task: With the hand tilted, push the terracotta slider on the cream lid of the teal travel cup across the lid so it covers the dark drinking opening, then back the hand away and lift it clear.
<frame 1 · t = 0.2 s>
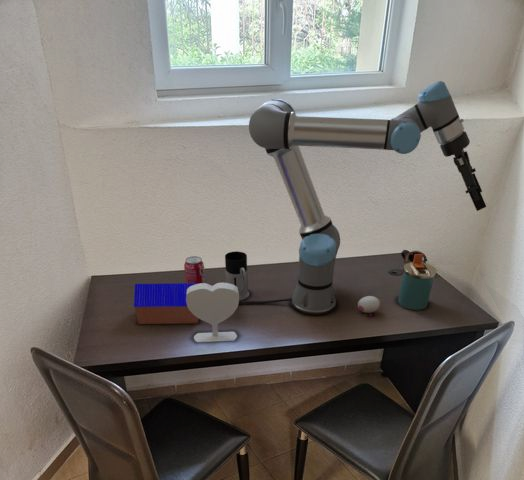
hand: (479, 200, 142), 35 cm above the table, tool tilted 35°, fingers open, 13 cm apart
heart sculpture: (215, 337, 145), on the table
slider: (419, 261, 155), point 15 cm above the table, slide at 0.0 cm
pottery mug: (411, 268, 185), on the table
soda can: (196, 290, 170), on the table
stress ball: (366, 311, 158), on the table
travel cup: (412, 302, 162), on the table
grey coffee mug: (239, 298, 165), on the table
house: (170, 315, 156), on the table
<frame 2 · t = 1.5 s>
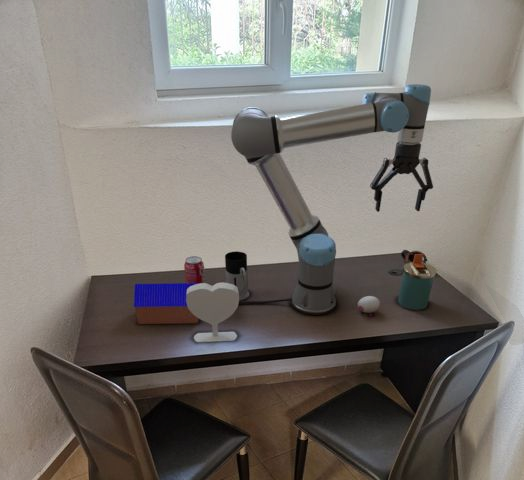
hand: (397, 210, 155), 29 cm above the table, tool pointing down, fingers open, 13 cm apart
nothing on the table moved.
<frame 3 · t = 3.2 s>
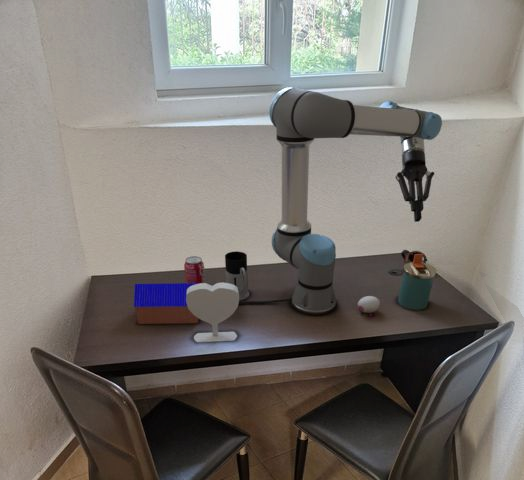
hand: (418, 219, 155), 26 cm above the table, tool tilted 45°, fingers closed
nothing on the table moved.
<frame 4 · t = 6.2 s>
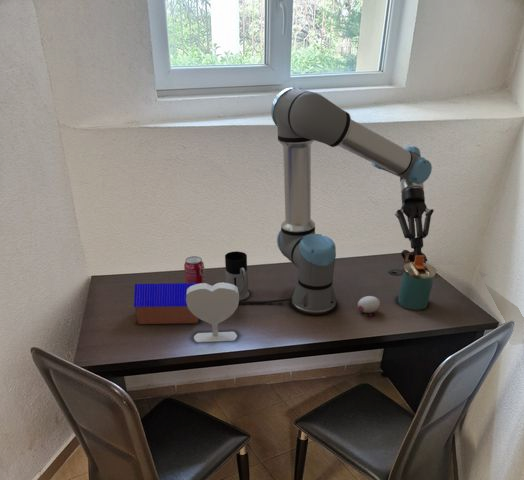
hand: (418, 257, 156), 15 cm above the table, tool tilted 45°, fingers closed
slider: (420, 262, 154), point 15 cm above the table, slide at 1.0 cm, touching gripper
everything else where it was.
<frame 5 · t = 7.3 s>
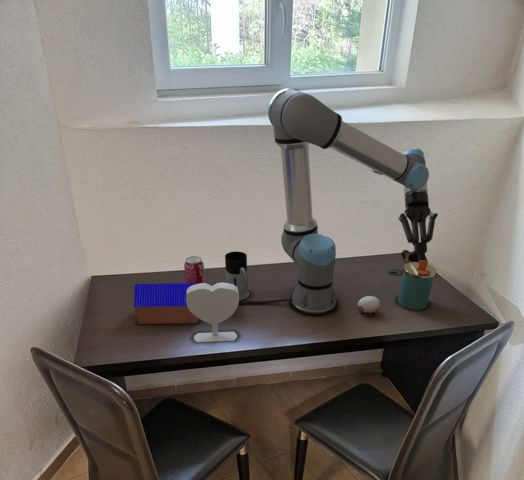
hand: (421, 262, 153), 15 cm above the table, tool tilted 45°, fingers closed
slider: (424, 267, 151), point 15 cm above the table, slide at 5.0 cm, touching gripper
everything else where it was.
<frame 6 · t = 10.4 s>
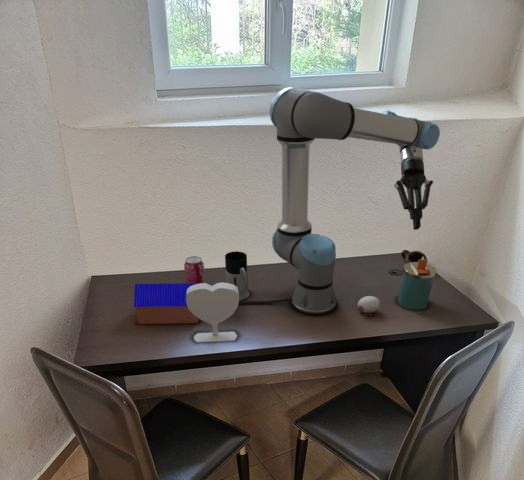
hand: (417, 227, 156), 24 cm above the table, tool tilted 45°, fingers closed
slider: (423, 266, 151), point 15 cm above the table, slide at 4.3 cm
everything else where it was.
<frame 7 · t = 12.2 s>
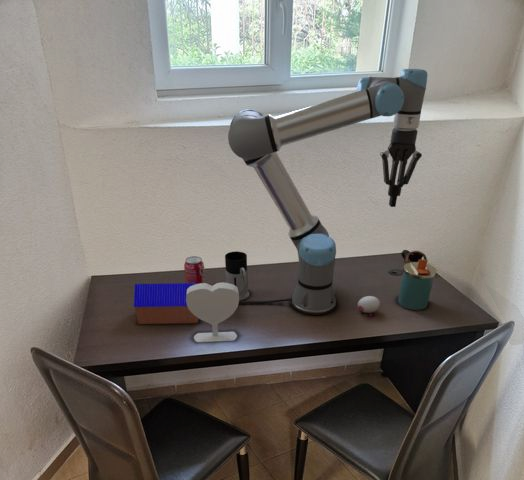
hand: (392, 205, 154), 30 cm above the table, tool pointing down, fingers closed
nothing on the table moved.
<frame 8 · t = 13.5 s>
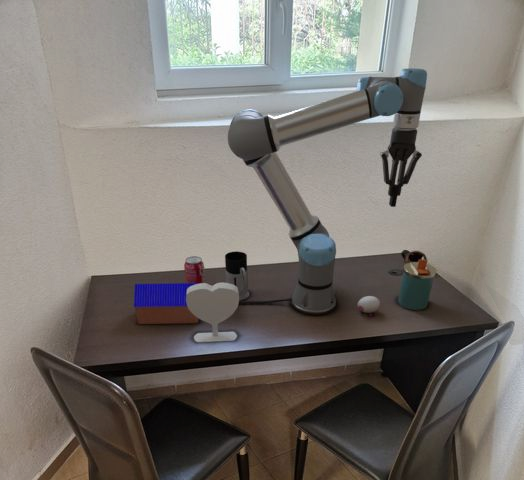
hand: (392, 205, 154), 30 cm above the table, tool pointing down, fingers closed
nothing on the table moved.
at the end: slider slide at 4.3 cm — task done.
